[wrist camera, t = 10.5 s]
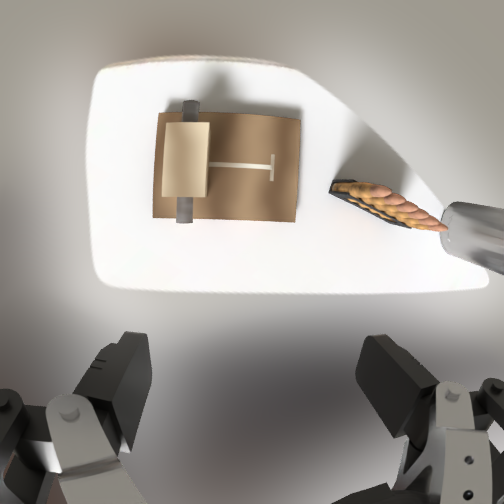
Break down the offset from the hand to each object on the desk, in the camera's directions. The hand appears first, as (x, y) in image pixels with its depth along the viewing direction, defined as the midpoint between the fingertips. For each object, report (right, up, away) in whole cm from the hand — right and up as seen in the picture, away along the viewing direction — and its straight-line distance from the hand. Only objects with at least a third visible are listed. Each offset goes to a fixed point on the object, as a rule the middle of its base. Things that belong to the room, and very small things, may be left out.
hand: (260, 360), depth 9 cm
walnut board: (-3, +14, +21) cm, 26 cm away
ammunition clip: (+14, +10, +24) cm, 30 cm away
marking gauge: (-7, +13, +19) cm, 24 cm away
